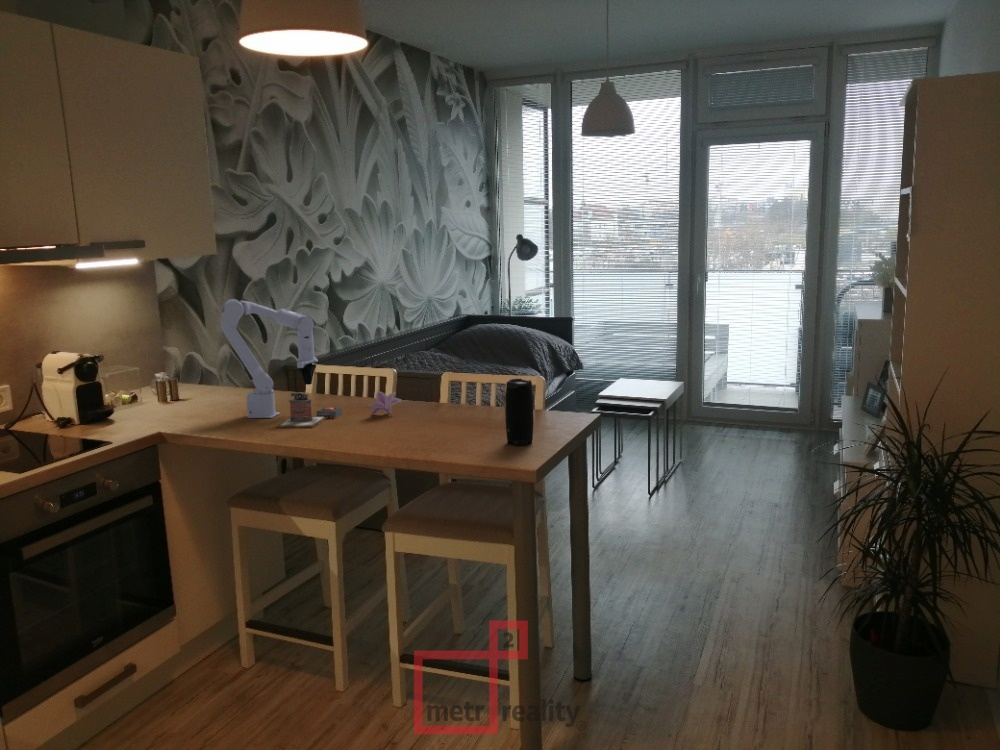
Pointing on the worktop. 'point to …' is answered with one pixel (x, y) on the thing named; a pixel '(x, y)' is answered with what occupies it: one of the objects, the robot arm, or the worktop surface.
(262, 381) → the robot arm
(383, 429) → the worktop surface
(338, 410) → the button housing
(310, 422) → the board
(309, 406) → the lighter
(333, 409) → the button
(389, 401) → the lily
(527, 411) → the portable speaker
